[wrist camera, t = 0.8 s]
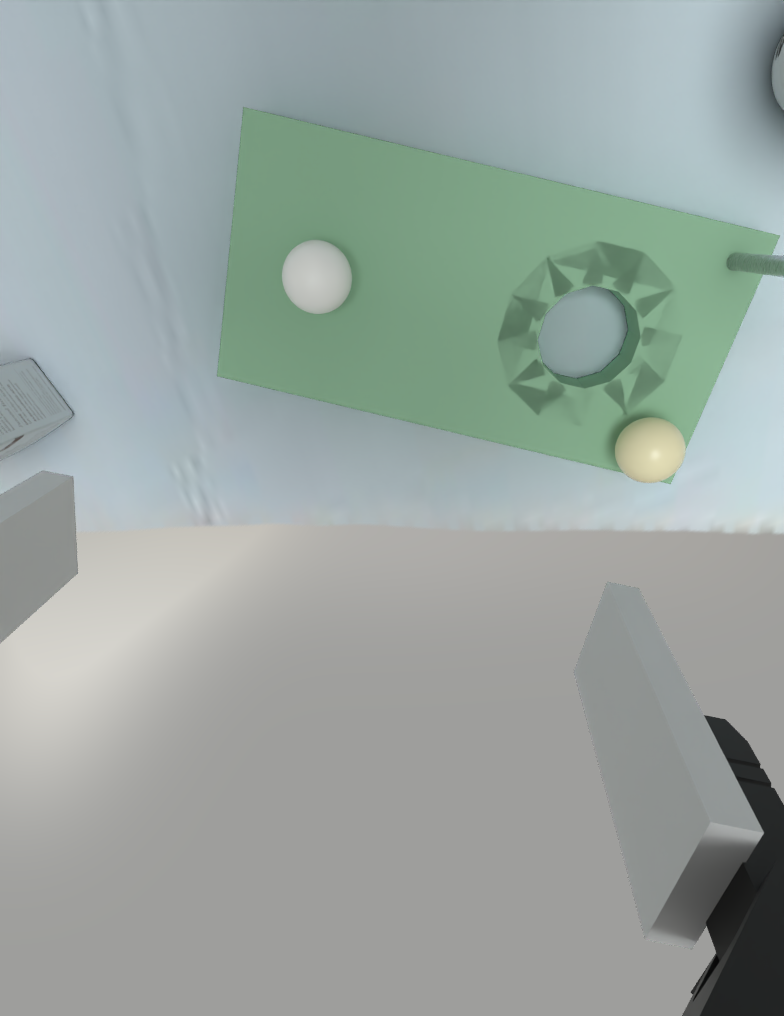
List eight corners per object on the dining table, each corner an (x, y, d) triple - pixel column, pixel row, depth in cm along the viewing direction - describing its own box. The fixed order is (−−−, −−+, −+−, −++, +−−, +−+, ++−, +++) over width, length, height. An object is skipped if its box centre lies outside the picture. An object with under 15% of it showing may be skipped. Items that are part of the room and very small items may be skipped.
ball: (296, 232, 31) (279, 232, 28) (362, 248, 31) (352, 249, 28) (286, 301, 33) (269, 308, 29) (349, 316, 33) (338, 325, 30)
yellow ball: (621, 403, 33) (638, 420, 30) (683, 418, 33) (707, 437, 30) (599, 461, 34) (613, 484, 31) (658, 475, 35) (678, 499, 31)
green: (231, 367, 37) (217, 376, 35) (258, 116, 31) (243, 106, 29) (657, 468, 37) (670, 484, 35) (756, 235, 32) (780, 235, 29)
